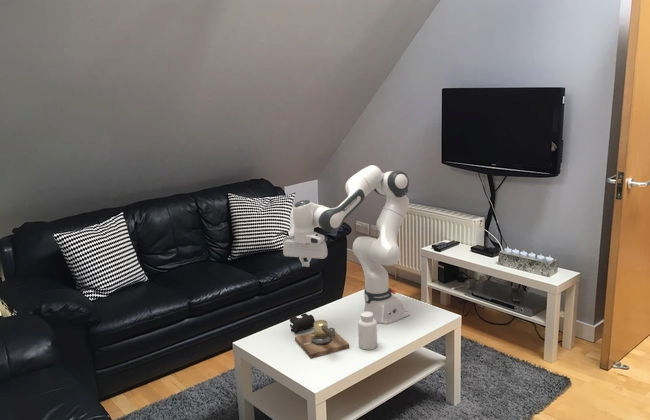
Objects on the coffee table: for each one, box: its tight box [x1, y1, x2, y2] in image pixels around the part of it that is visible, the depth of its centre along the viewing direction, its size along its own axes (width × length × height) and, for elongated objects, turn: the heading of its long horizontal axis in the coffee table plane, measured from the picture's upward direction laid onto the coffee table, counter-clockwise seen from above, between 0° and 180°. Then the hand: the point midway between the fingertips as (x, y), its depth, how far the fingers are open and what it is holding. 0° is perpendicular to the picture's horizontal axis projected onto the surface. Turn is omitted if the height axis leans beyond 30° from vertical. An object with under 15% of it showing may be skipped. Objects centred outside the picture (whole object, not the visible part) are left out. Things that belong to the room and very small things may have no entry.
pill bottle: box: [357, 311, 378, 351], centre depth 242 cm, size 8×8×15 cm
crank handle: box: [311, 319, 336, 339], centre depth 241 cm, size 16×10×8 cm, turn 25°
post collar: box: [311, 333, 332, 345], centre depth 246 cm, size 9×9×2 cm
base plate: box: [294, 330, 350, 359], centre depth 247 cm, size 18×18×2 cm
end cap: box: [289, 313, 316, 335], centre depth 260 cm, size 10×7×7 cm
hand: (305, 266), depth 254 cm, fingers closed
